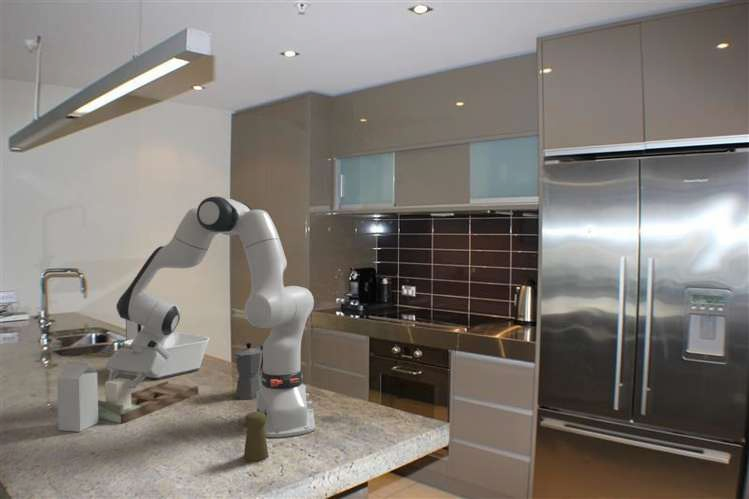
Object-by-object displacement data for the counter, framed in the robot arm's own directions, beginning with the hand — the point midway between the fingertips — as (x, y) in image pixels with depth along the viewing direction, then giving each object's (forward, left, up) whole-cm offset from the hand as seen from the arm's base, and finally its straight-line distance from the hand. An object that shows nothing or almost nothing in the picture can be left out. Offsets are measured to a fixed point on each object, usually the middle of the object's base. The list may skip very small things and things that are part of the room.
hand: (120, 385), depth 156 cm
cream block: (0, +1, -7) cm, 7 cm away
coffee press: (+83, -1, -9) cm, 84 cm away
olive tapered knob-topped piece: (-46, -35, -9) cm, 58 cm away
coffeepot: (+5, -40, -9) cm, 41 cm away
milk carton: (-7, +10, -9) cm, 15 cm away
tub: (+48, -12, -9) cm, 50 cm away
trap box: (+7, -7, -9) cm, 13 cm away
